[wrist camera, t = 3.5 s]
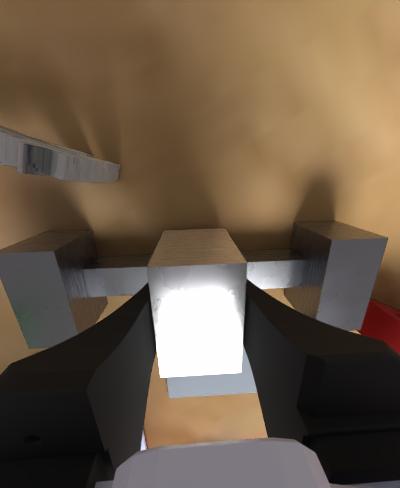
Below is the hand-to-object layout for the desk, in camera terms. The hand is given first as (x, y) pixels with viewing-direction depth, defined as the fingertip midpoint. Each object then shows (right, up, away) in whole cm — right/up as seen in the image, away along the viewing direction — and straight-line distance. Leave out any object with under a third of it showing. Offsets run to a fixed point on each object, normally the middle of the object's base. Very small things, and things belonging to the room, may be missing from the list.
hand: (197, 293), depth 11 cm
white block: (0, +1, +3) cm, 3 cm away
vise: (0, +1, +3) cm, 4 cm away
